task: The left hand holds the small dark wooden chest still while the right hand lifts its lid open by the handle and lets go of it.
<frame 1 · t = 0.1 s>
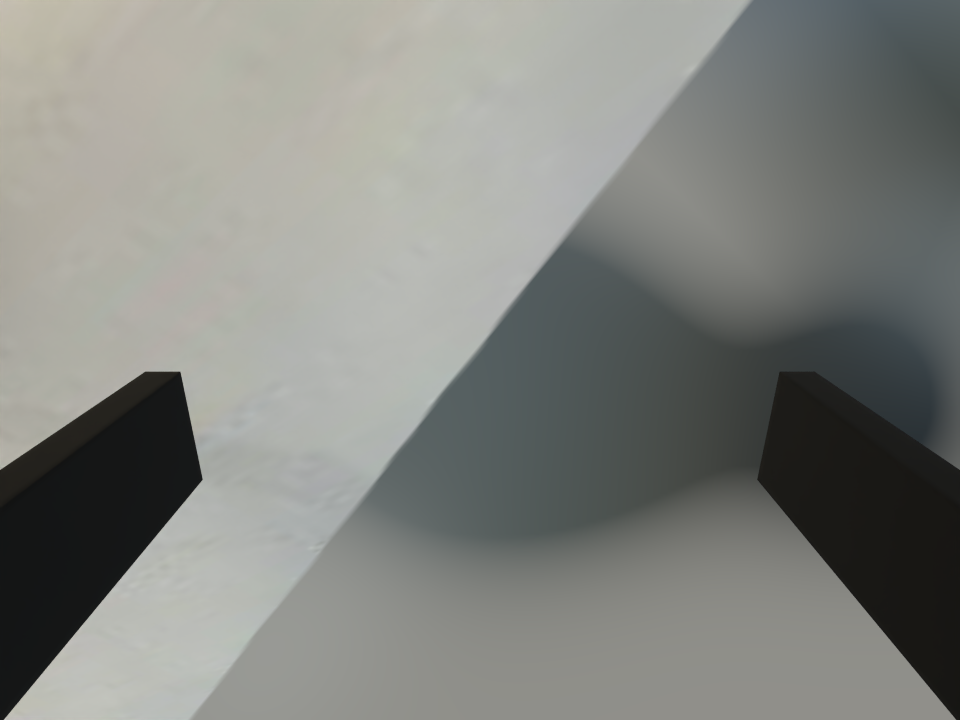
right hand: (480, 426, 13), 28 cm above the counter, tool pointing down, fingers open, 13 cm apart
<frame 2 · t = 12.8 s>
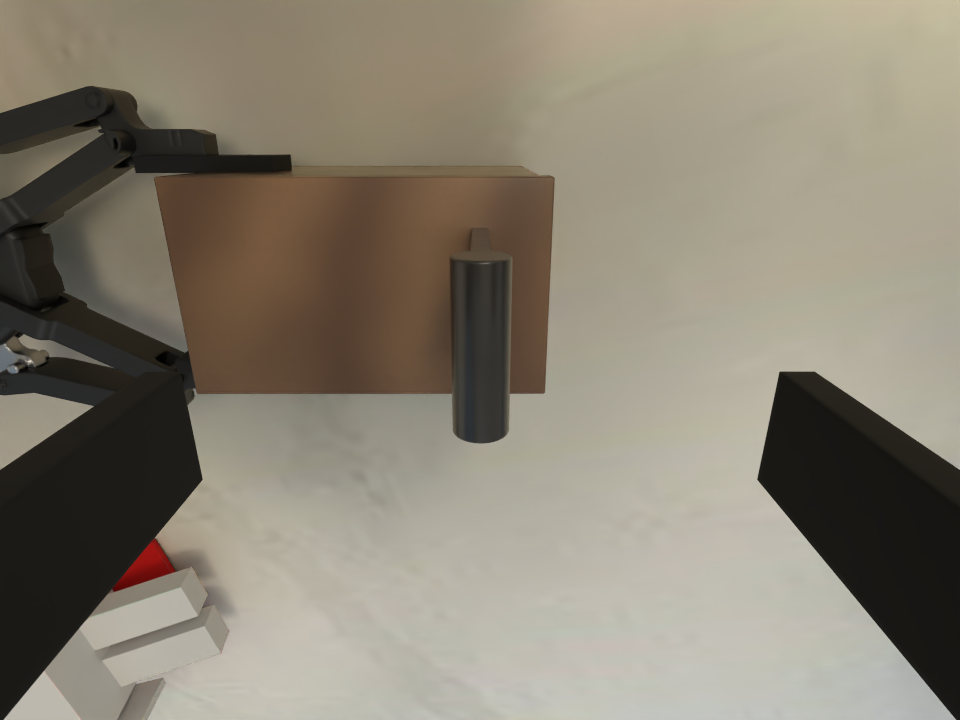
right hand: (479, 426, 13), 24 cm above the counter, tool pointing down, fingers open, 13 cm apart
left hand: (294, 266, 29), fingers closed on chest, 9 cm apart
chest: (396, 245, 35), on the counter, touching left hand
toy: (61, 609, 46), on the counter
lid: (345, 315, 21), point 15 cm above the counter, hinge at 0.0°
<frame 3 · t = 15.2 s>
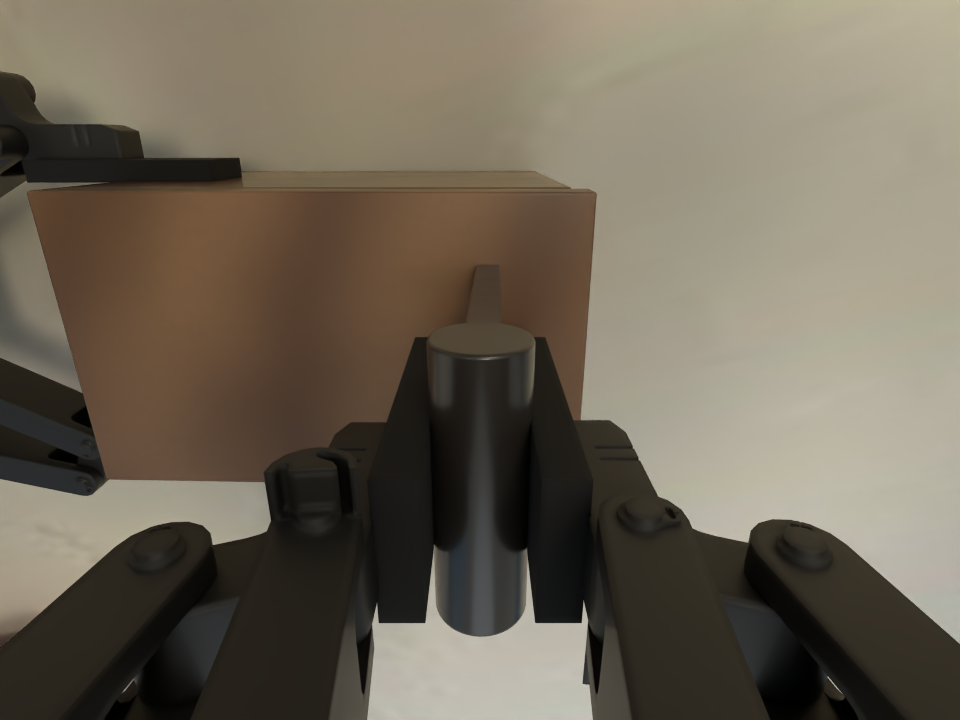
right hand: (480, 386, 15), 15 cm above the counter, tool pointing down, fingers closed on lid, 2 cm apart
chest: (381, 268, 29), on the counter, touching left hand
lid: (285, 397, 14), point 16 cm above the counter, hinge at 2.3°, touching right hand
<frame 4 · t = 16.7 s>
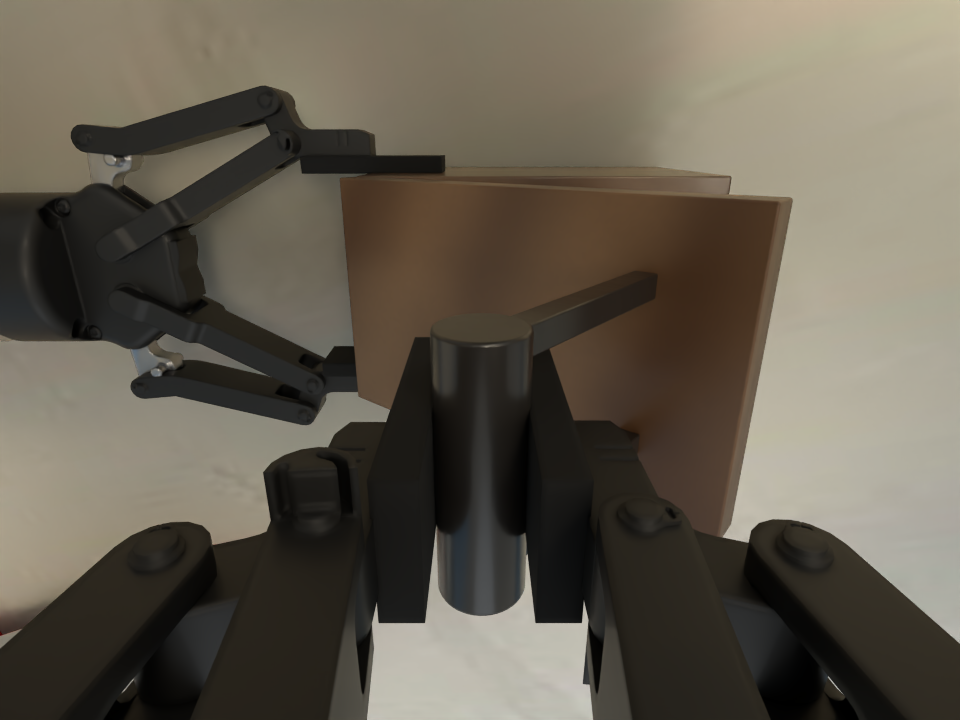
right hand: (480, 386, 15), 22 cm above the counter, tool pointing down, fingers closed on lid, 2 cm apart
left hand: (445, 268, 29), fingers closed on chest, 9 cm apart
chest: (523, 247, 35), on the counter, touching left hand
lid: (428, 358, 17), point 20 cm above the counter, hinge at 39.4°, touching right hand
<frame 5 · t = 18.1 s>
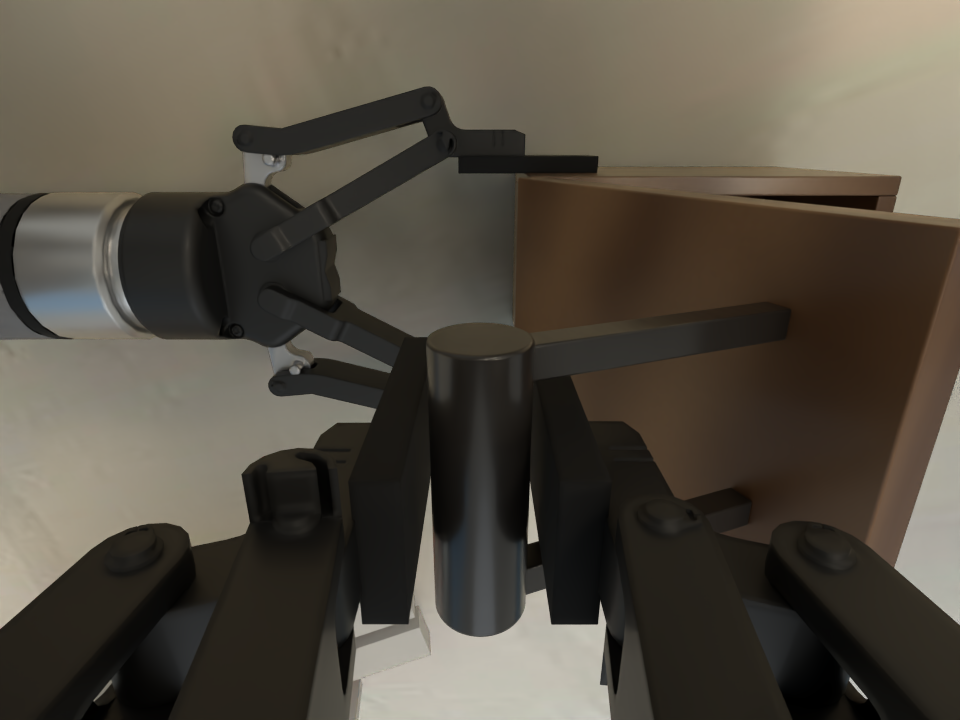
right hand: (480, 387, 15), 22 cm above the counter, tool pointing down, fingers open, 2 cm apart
left hand: (585, 267, 29), fingers closed on chest, 9 cm apart
chest: (637, 246, 35), on the counter, touching left hand
toy: (247, 610, 46), on the counter
lid: (530, 365, 16), point 20 cm above the counter, hinge at 67.6°
when the left hand's fingers open (6 cm above the counter, at t = 22.0 s): chest stays where it is, on the counter.
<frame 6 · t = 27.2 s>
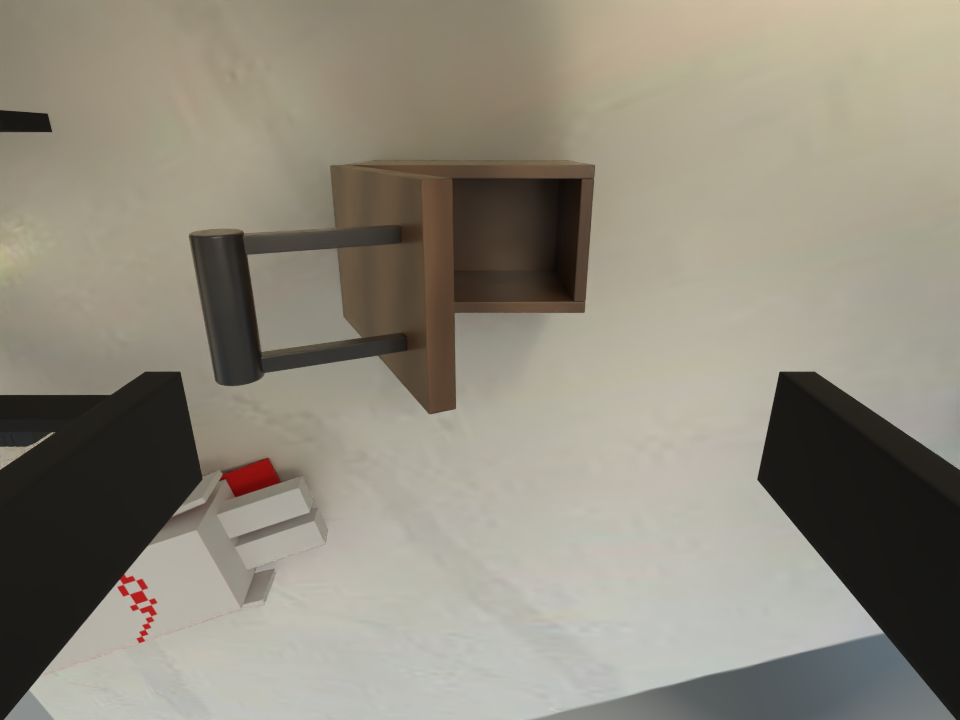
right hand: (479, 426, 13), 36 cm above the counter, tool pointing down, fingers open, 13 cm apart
chest: (471, 221, 46), on the counter
toy: (187, 518, 57), on the counter
lid: (304, 274, 27), point 20 cm above the counter, hinge at 64.5°
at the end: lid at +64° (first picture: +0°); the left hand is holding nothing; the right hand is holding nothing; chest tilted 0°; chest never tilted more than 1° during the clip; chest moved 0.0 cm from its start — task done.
